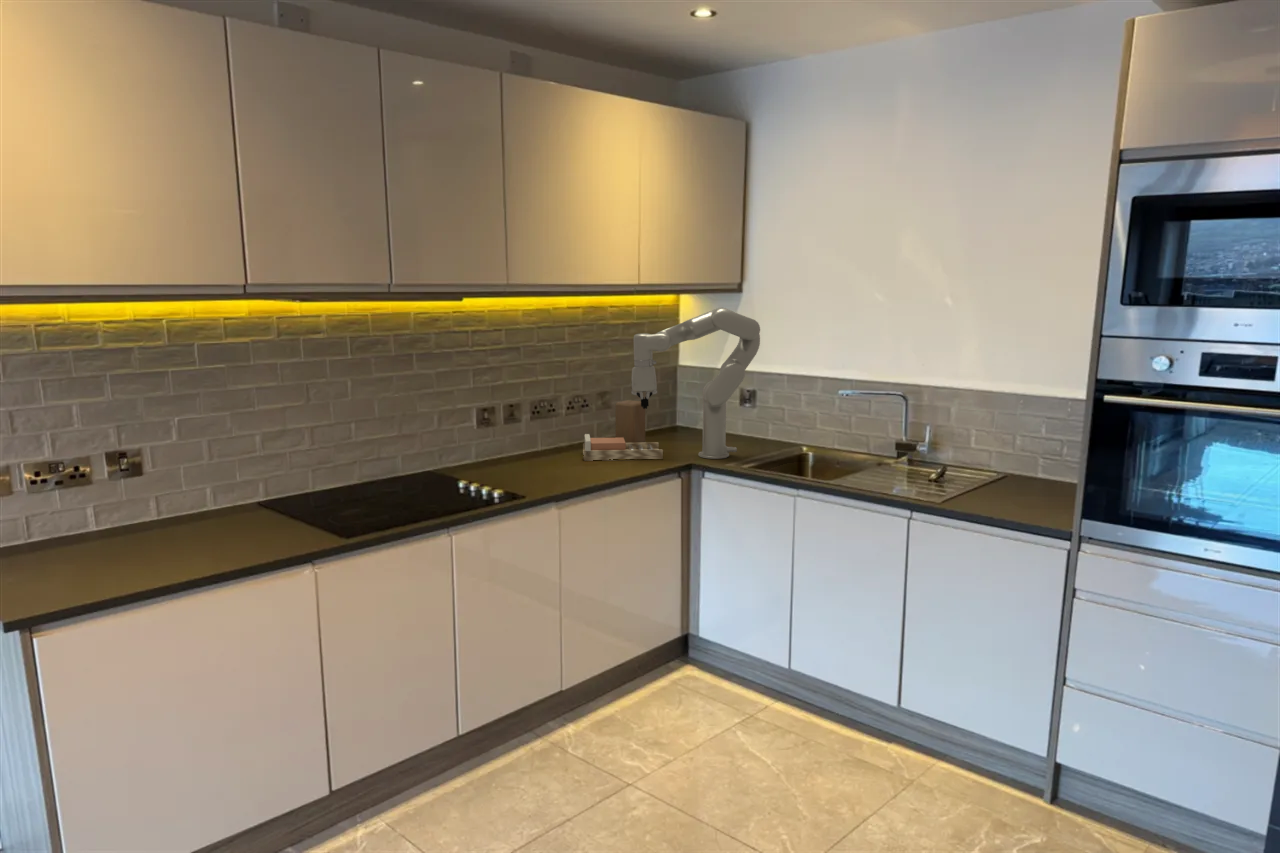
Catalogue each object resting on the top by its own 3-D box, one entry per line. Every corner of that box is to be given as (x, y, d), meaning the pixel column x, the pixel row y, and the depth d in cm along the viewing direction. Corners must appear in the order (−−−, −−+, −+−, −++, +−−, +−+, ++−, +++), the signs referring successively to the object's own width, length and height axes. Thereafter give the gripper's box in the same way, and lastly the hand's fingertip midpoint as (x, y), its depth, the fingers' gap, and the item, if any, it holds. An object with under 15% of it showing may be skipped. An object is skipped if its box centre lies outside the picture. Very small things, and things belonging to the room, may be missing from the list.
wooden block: (646, 446, 363) (646, 401, 359) (633, 450, 354) (634, 404, 351) (627, 443, 368) (627, 399, 365) (614, 447, 360) (614, 402, 356)
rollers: (651, 448, 350) (651, 444, 349) (655, 455, 336) (655, 450, 336) (590, 449, 347) (590, 445, 347) (591, 456, 334) (591, 451, 334)
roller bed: (658, 451, 351) (658, 442, 351) (662, 459, 336) (662, 449, 335) (583, 452, 349) (583, 443, 348) (584, 460, 333) (584, 451, 332)
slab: (623, 444, 347) (623, 437, 347) (625, 450, 336) (625, 442, 335) (590, 444, 346) (590, 437, 346) (591, 450, 334) (591, 443, 334)
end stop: (589, 449, 349) (589, 434, 347) (590, 457, 333) (590, 441, 332) (584, 449, 348) (584, 434, 347) (585, 457, 333) (585, 441, 332)
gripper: (660, 362, 341) (661, 406, 344) (624, 363, 339) (626, 407, 343) (662, 364, 333) (663, 408, 336) (626, 365, 332) (627, 410, 335)
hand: (644, 408), depth 339 cm, fingers closed
